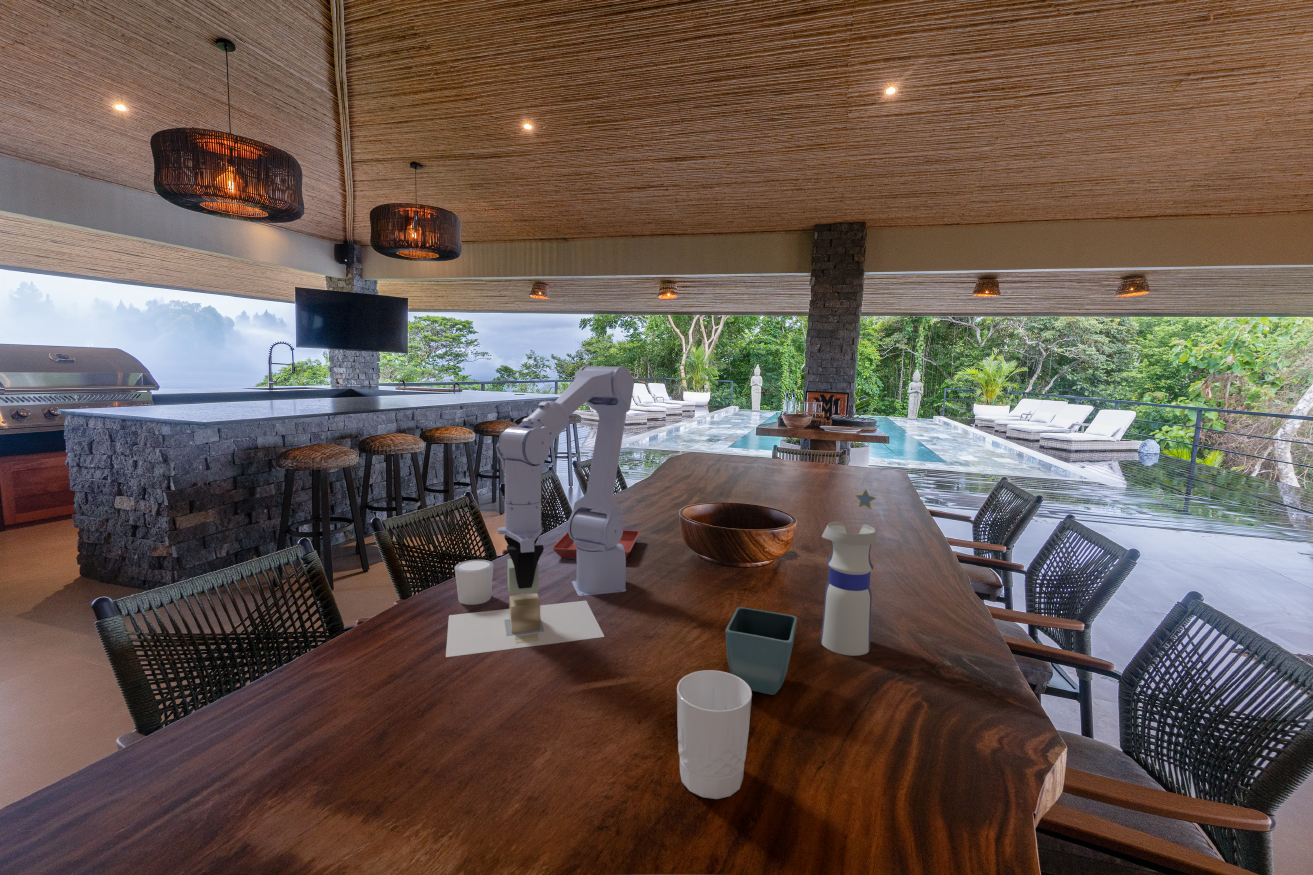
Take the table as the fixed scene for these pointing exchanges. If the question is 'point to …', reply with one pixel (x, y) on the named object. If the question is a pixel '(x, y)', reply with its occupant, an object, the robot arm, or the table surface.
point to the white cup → (712, 732)
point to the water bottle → (848, 588)
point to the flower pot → (760, 647)
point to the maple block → (524, 612)
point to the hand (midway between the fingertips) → (523, 581)
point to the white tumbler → (474, 581)
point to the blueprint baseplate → (496, 635)
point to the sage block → (513, 582)
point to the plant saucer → (569, 550)
